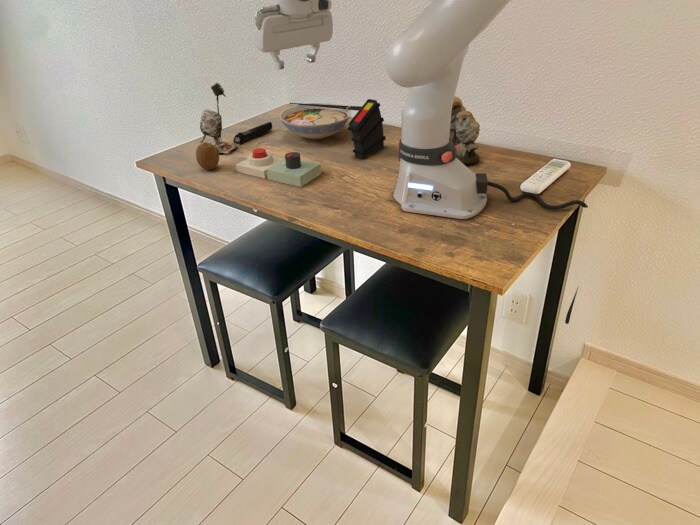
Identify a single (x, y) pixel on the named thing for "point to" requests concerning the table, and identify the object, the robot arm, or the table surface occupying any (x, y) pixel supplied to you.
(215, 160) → the fruit
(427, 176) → the robot arm
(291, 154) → the dial
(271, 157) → the switch box
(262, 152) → the power button
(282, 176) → the dial panel
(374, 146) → the magazine
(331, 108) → the ramen bowl
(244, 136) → the electric trimmer
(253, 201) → the table surface
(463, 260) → the table surface
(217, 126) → the grey mottled tall figure
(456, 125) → the owl figurine
